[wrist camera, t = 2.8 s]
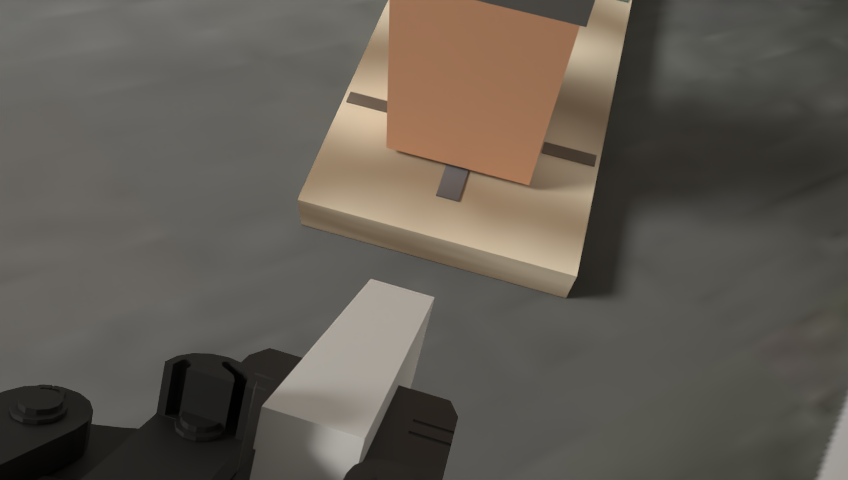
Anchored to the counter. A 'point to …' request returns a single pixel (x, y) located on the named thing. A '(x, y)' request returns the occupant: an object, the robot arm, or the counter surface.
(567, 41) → the fader knob
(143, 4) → the counter surface
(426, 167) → the fader board
